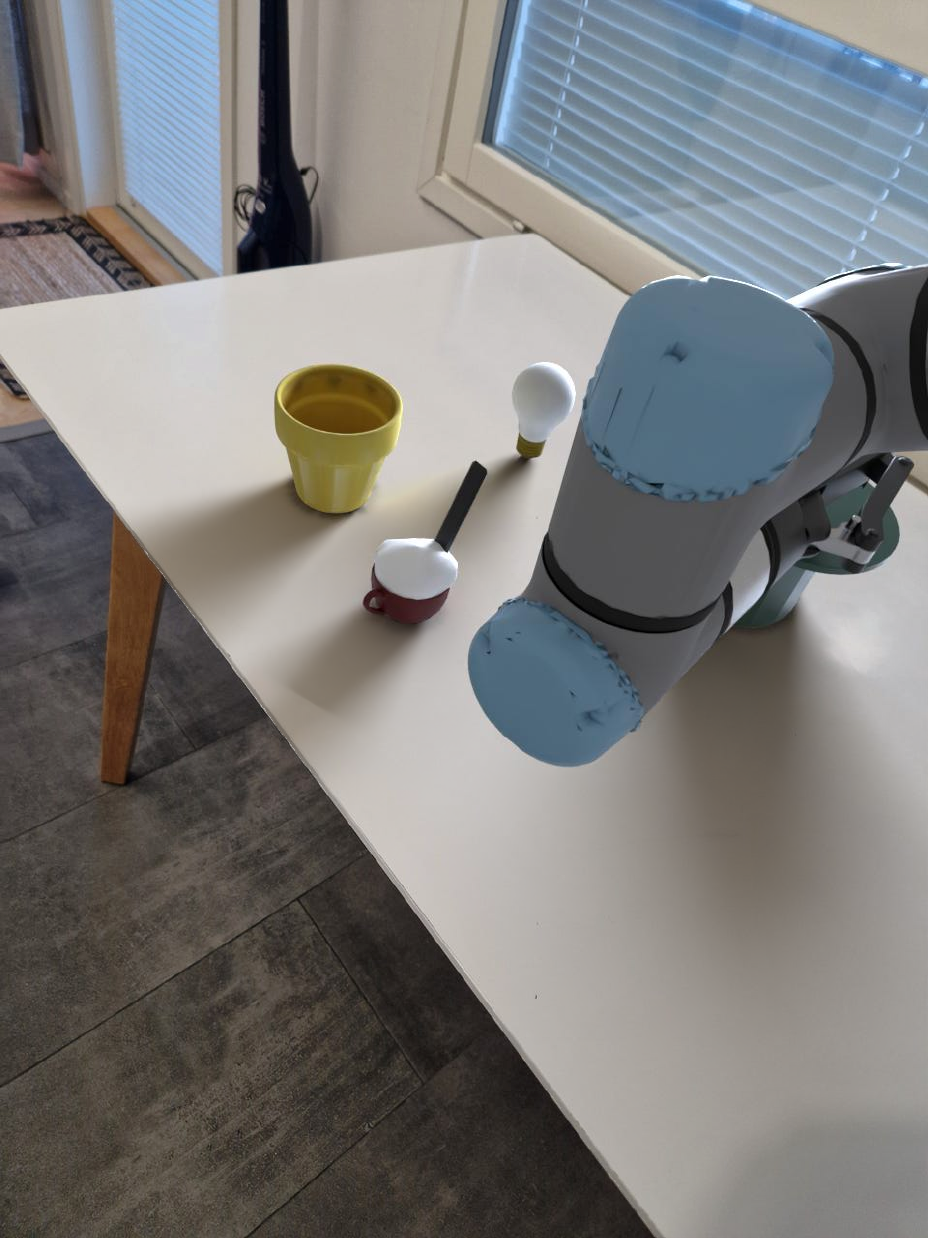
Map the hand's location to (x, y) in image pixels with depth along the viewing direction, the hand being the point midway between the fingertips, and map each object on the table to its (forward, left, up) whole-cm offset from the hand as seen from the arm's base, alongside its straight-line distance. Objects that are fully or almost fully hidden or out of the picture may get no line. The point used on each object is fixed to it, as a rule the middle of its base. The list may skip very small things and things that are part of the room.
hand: (874, 401), depth 59 cm
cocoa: (+16, +24, -22) cm, 36 cm away
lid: (-1, +5, -6) cm, 8 cm away
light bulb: (+27, +2, -22) cm, 35 cm away
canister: (+5, -3, -22) cm, 23 cm away
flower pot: (+31, +22, -22) cm, 44 cm away
